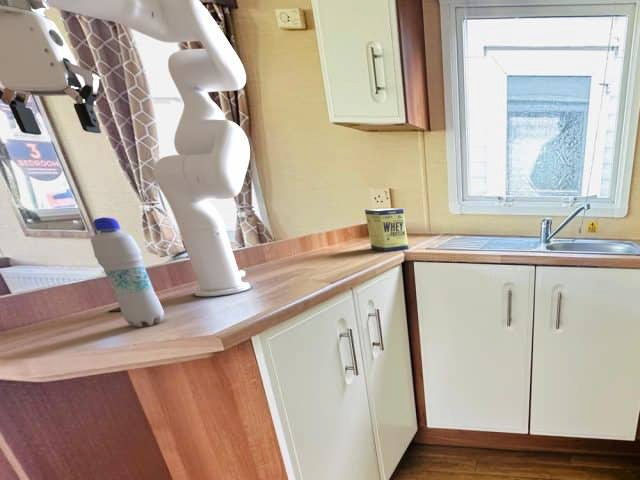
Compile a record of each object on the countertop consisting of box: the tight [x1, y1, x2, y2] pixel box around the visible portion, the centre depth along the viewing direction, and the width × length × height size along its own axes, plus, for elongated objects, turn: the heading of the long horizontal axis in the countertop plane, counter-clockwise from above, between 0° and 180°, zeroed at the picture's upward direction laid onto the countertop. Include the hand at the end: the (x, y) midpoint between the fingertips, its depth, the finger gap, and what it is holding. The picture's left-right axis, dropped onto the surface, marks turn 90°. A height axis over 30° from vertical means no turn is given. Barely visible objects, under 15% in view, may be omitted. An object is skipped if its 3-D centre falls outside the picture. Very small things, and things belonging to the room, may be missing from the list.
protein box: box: [364, 208, 409, 252], centre depth 175 cm, size 10×16×16 cm
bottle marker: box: [108, 306, 121, 313], centre depth 97 cm, size 5×5×1 cm
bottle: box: [90, 216, 165, 328], centre depth 81 cm, size 7×7×20 cm
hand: (62, 133), depth 73 cm, fingers open, 9 cm apart
